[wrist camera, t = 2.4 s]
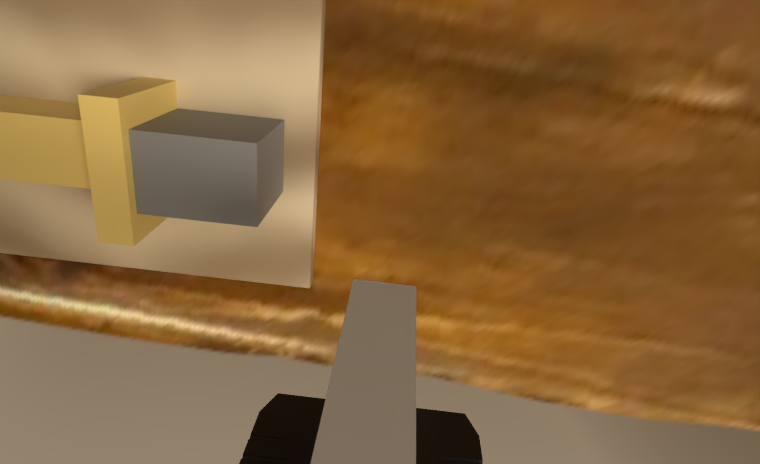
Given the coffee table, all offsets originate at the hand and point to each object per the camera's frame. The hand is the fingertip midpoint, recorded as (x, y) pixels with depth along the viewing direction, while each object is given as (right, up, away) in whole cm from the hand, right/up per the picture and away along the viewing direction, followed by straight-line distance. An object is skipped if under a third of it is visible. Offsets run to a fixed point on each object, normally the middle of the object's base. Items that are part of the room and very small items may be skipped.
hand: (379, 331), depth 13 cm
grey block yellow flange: (-12, +7, +12) cm, 18 cm away
